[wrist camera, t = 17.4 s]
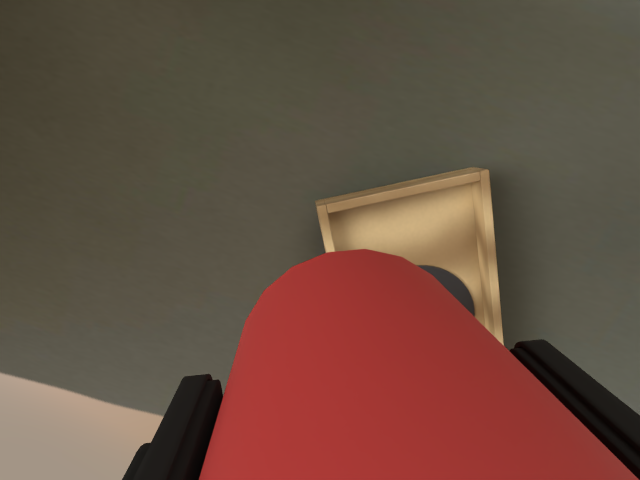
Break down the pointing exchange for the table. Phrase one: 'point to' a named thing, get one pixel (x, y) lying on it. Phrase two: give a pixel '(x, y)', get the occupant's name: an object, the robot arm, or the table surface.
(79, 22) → the table surface
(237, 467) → the beer can
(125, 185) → the table surface
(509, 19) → the table surface
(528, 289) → the table surface
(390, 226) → the tray
